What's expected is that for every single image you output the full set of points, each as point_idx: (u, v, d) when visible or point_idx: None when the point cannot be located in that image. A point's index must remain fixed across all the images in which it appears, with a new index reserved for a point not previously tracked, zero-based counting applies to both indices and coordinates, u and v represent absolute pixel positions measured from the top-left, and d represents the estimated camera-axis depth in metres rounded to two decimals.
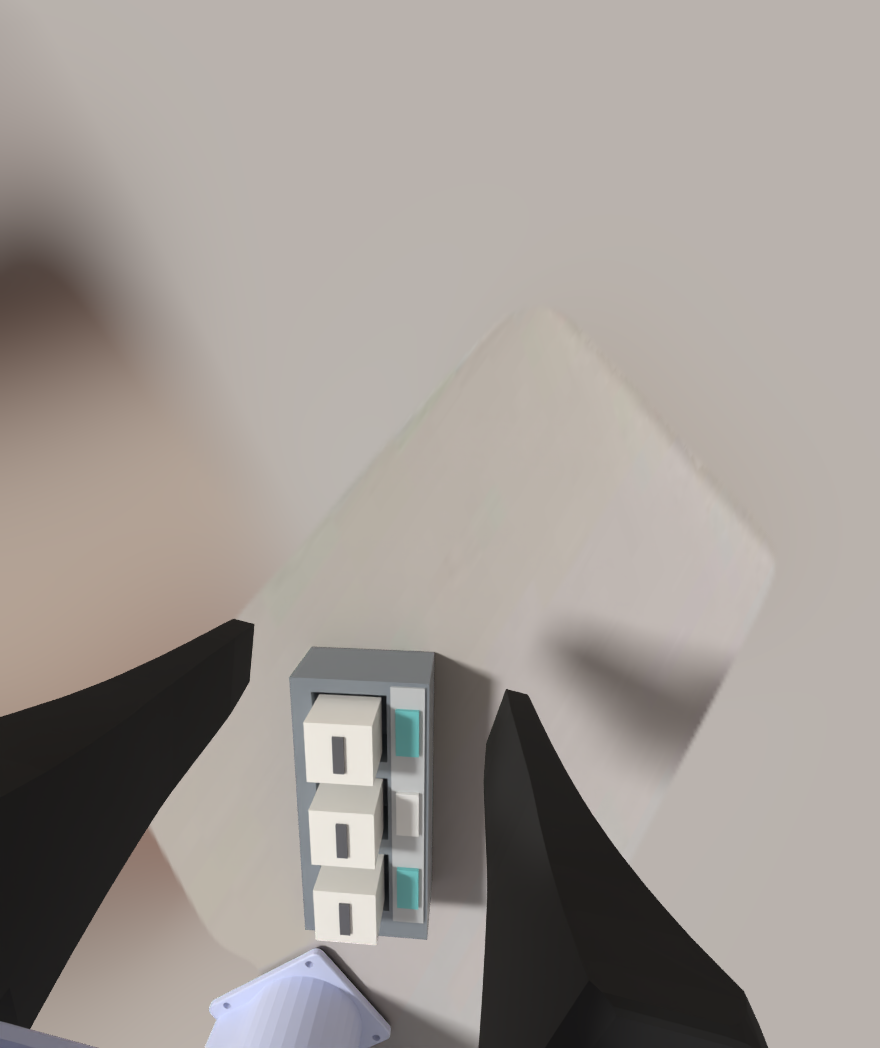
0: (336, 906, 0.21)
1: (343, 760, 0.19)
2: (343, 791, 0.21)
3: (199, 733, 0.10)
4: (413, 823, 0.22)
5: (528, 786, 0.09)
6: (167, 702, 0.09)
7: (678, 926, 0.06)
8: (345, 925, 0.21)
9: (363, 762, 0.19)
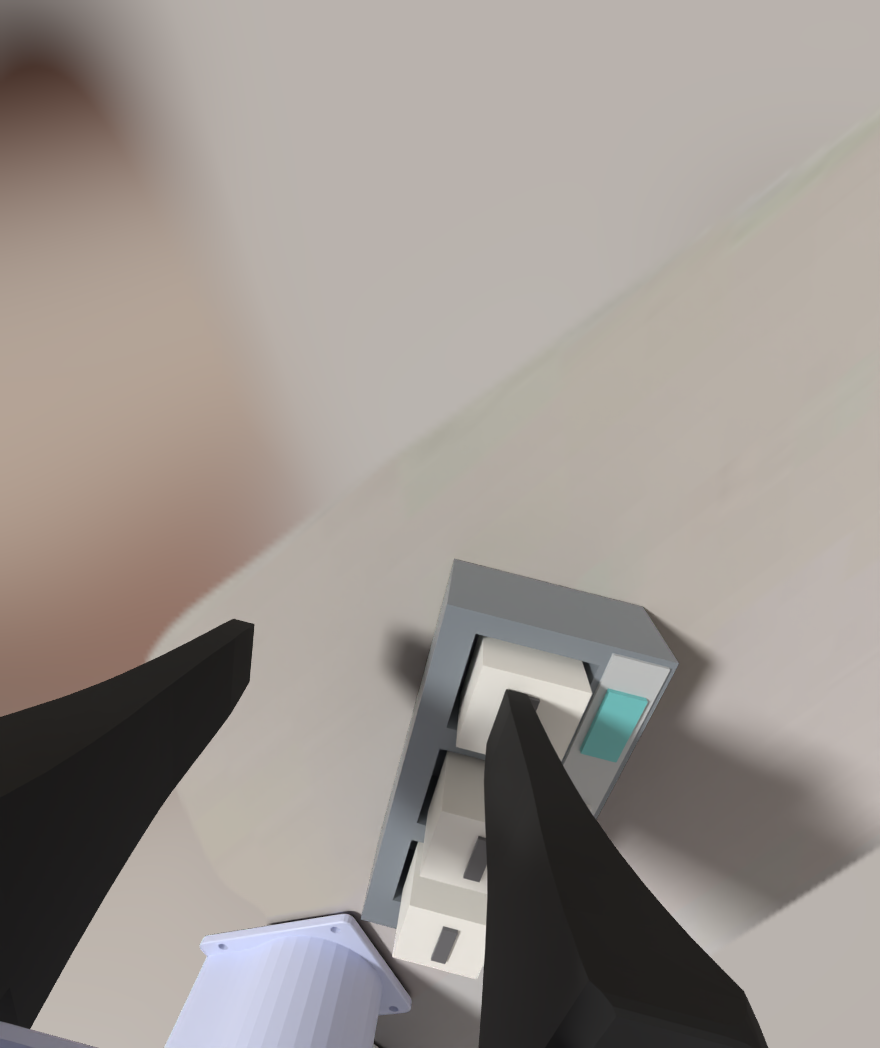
0: (437, 929, 0.14)
1: None
2: None
3: (199, 733, 0.10)
4: None
5: (528, 786, 0.09)
6: (167, 702, 0.09)
7: (678, 926, 0.06)
8: (443, 953, 0.15)
9: (555, 739, 0.12)
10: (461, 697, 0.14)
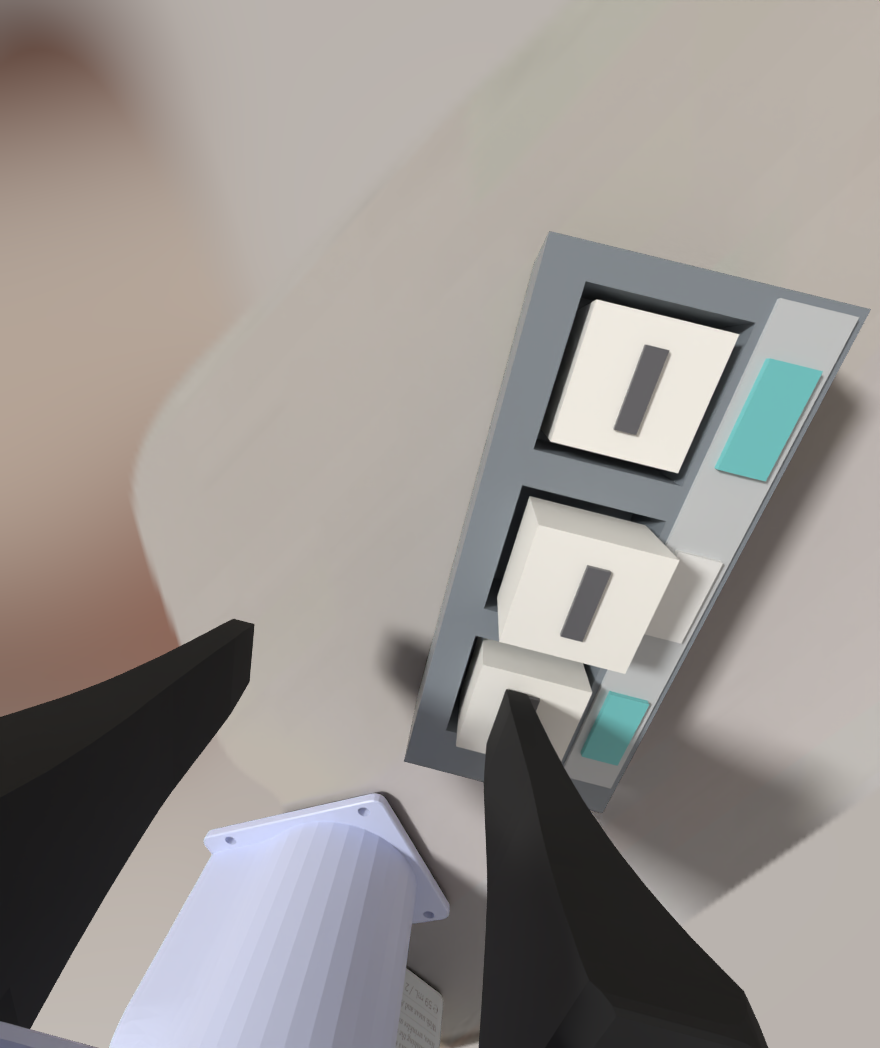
0: None
1: (646, 404, 0.10)
2: (586, 521, 0.10)
3: (200, 733, 0.10)
4: (684, 617, 0.11)
5: (528, 786, 0.09)
6: (166, 701, 0.09)
7: (678, 926, 0.06)
8: None
9: (682, 417, 0.10)
10: (545, 418, 0.12)
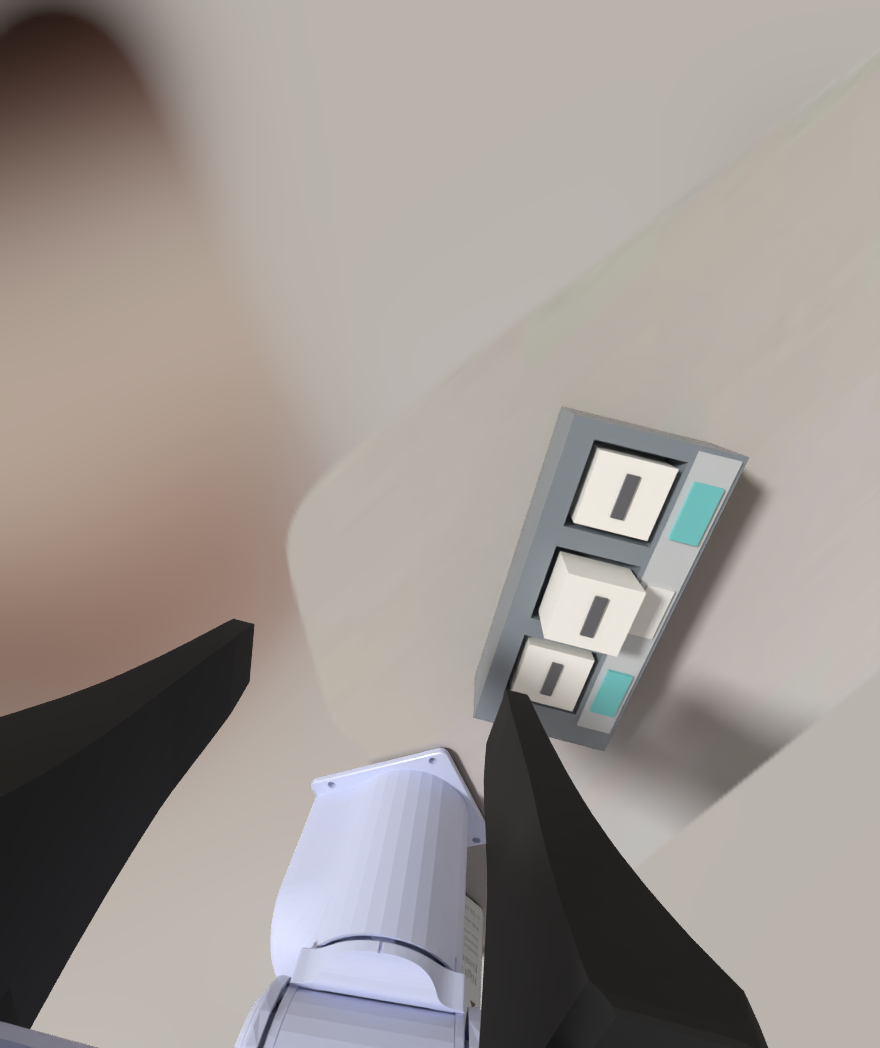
0: (547, 665, 0.20)
1: (628, 504, 0.17)
2: (594, 568, 0.18)
3: (200, 733, 0.10)
4: (653, 623, 0.19)
5: (528, 786, 0.09)
6: (166, 701, 0.09)
7: (678, 926, 0.06)
8: (550, 685, 0.20)
9: (649, 511, 0.17)
10: None
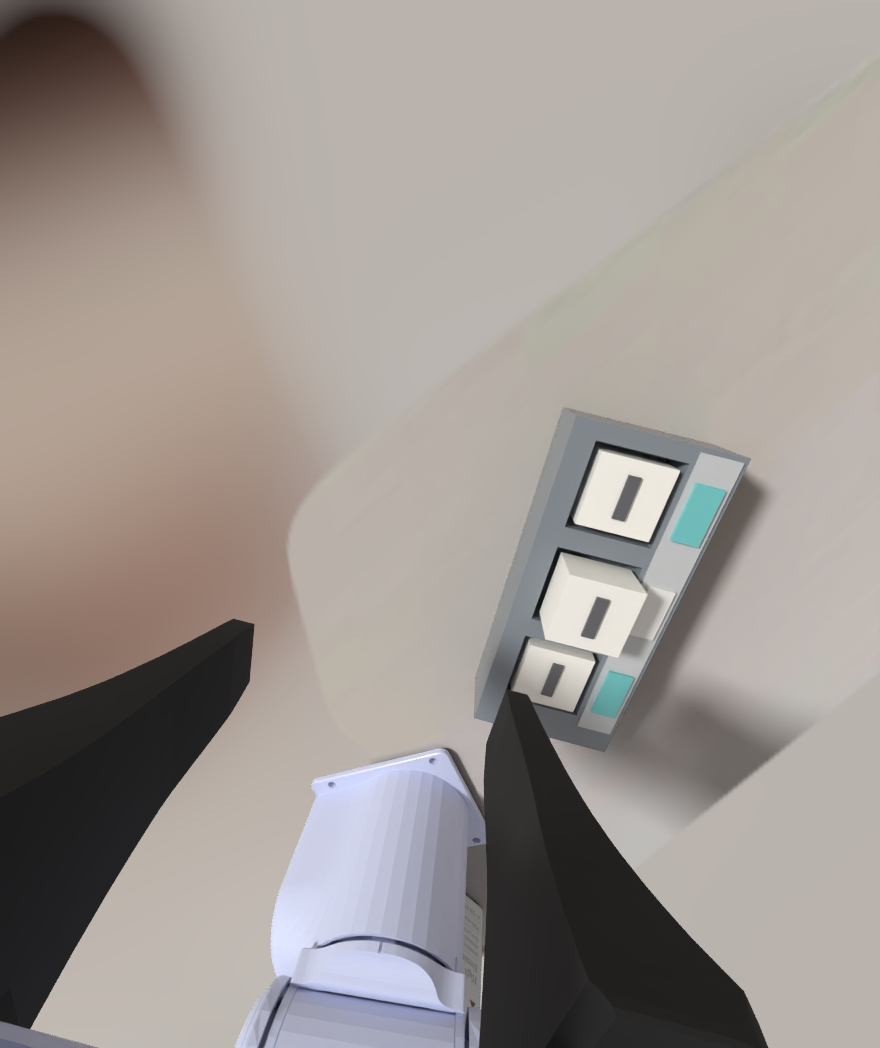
0: (548, 665, 0.20)
1: (630, 505, 0.17)
2: (595, 569, 0.18)
3: (200, 733, 0.10)
4: (653, 624, 0.19)
5: (528, 786, 0.09)
6: (167, 702, 0.09)
7: (678, 926, 0.06)
8: (551, 686, 0.20)
9: (650, 512, 0.17)
10: None
